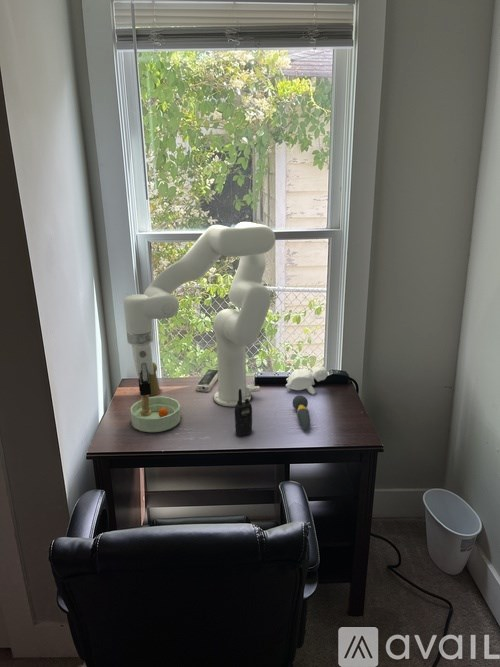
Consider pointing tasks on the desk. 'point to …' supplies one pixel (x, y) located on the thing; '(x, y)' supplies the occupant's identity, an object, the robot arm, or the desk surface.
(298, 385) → the white animal figurine
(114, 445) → the desk surface
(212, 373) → the multiport hub
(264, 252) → the robot arm
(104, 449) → the desk surface
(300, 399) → the dark grey microphone
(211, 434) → the desk surface
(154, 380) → the cork
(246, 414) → the two-way radio
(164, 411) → the ball
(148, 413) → the muddler
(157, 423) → the bowl
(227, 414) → the desk surface
